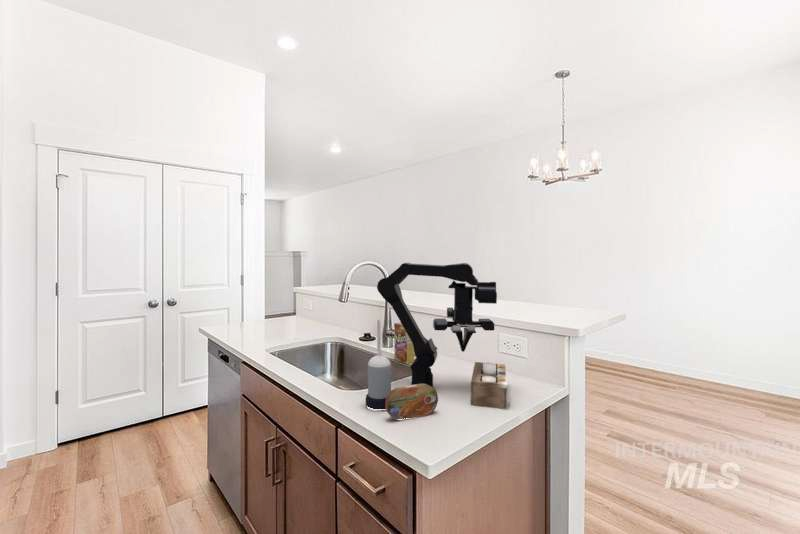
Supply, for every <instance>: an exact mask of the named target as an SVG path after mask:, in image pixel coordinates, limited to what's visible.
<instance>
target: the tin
mask: <svg viewBox="0 0 800 534" xmlns="http://www.w3.org/2000/svg"><path fill="white" fill-rule="evenodd" d="M438 402H439V394H438V392H437V390H436V389H435V388H434V386H433V387H432V386H430V385H427V384H423V383H422V384H415V385H411V384H410V385H405V386H404V385H403V386H400V387H394V388H393V389H391V392H390V393H389V394H388V395H387V397H386V402H385V407H386V413H387V414H388V415H389V416H390V417H391V418H392V420H393V419H394V420H395V421H397V419H404V418H405V419H406V418H412V419H414V418H413V417H417V418H421V416H422V417H426V416H428V415H430V414H432V413H433V412H434V411H435V409H436V407H437V405H438Z"/></svg>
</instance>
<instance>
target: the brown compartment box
mask: <svg viewBox="0 0 800 534" xmlns="http://www.w3.org/2000/svg"><path fill="white" fill-rule="evenodd" d="M483 363H484V362H482V361H481V362H480V361H479V362H478V361H475V362H474V365H473V371H472V375H471V381H470V406H475V407H476V406H477V407H485V408H493V409H495V408H496V409H504V410H506V409H507V388H508V385H507V383H508V382H507V370H506V369H507V368H506V364H505V363H495V364H496V375H485V374H483ZM483 376H492V377H495V378H496V383H495V382H484V381H482V377H483Z"/></svg>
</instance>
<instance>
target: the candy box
mask: <svg viewBox="0 0 800 534" xmlns="http://www.w3.org/2000/svg"><path fill="white" fill-rule="evenodd" d="M393 326H394V329H393V331H394V332H393V333H394V337H393V338H394V339H393V340H394V341H393V342H394V344H393V345H394V347H393V348H394V349H393V350H394V360H396V361H398V362H401V363H403V364H406V365H412V363H413V361H414V360H415V352H414V348H413V344H412V341H411V340H410V338H409V336H408V334H407V332H406V331H405V329H404V327H403V325H402V324H401V322H400V321H398V322H394V323H393Z"/></svg>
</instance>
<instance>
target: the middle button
mask: <svg viewBox="0 0 800 534" xmlns="http://www.w3.org/2000/svg"><path fill="white" fill-rule="evenodd" d="M482 363H483V374H485V375H496V364H497V363H494V362H482Z"/></svg>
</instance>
